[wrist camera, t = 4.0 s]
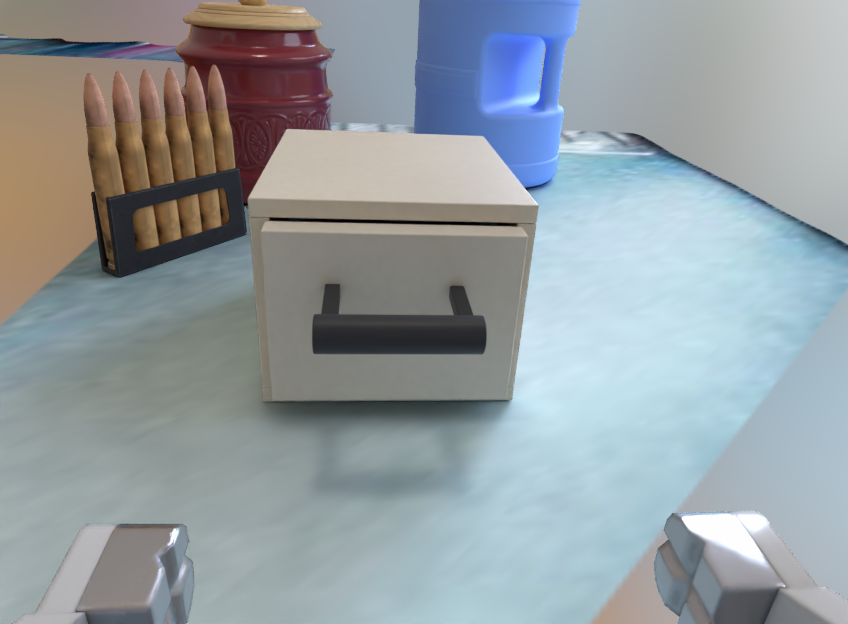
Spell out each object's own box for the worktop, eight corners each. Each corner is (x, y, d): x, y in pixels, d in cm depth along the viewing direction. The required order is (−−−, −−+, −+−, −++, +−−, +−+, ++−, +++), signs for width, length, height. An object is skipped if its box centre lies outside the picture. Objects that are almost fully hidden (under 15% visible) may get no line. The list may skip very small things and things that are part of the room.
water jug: (382, 172, 66) (389, -156, 53) (455, 148, 78) (474, -124, 65) (519, 202, 59) (564, -168, 46) (576, 170, 71) (624, -130, 58)
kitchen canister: (360, 194, 59) (361, -21, 51) (225, 215, 51) (201, -31, 43) (295, 162, 68) (287, -23, 60) (172, 177, 60) (144, -33, 52)
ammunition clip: (230, 228, 49) (215, 62, 43) (247, 233, 48) (234, 65, 42) (101, 270, 41) (62, 72, 35) (118, 277, 40) (82, 76, 34)
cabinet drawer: (528, 463, 25) (558, 280, 21) (256, 467, 24) (239, 276, 20) (467, 284, 39) (478, 159, 36) (298, 282, 38) (293, 153, 35)
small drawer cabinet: (512, 400, 30) (539, 205, 26) (262, 402, 29) (247, 197, 24) (470, 282, 42) (483, 135, 38) (293, 280, 41) (286, 128, 36)
